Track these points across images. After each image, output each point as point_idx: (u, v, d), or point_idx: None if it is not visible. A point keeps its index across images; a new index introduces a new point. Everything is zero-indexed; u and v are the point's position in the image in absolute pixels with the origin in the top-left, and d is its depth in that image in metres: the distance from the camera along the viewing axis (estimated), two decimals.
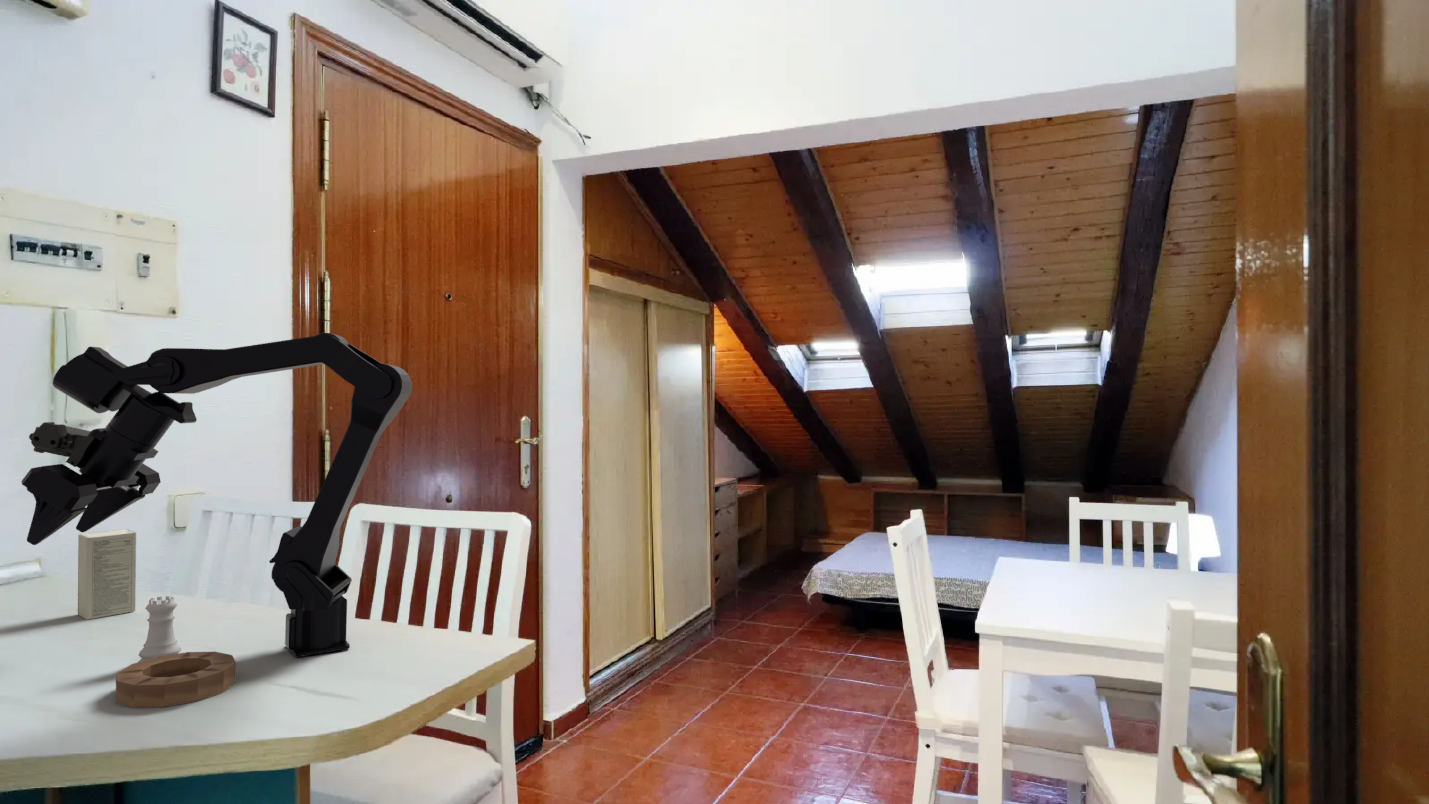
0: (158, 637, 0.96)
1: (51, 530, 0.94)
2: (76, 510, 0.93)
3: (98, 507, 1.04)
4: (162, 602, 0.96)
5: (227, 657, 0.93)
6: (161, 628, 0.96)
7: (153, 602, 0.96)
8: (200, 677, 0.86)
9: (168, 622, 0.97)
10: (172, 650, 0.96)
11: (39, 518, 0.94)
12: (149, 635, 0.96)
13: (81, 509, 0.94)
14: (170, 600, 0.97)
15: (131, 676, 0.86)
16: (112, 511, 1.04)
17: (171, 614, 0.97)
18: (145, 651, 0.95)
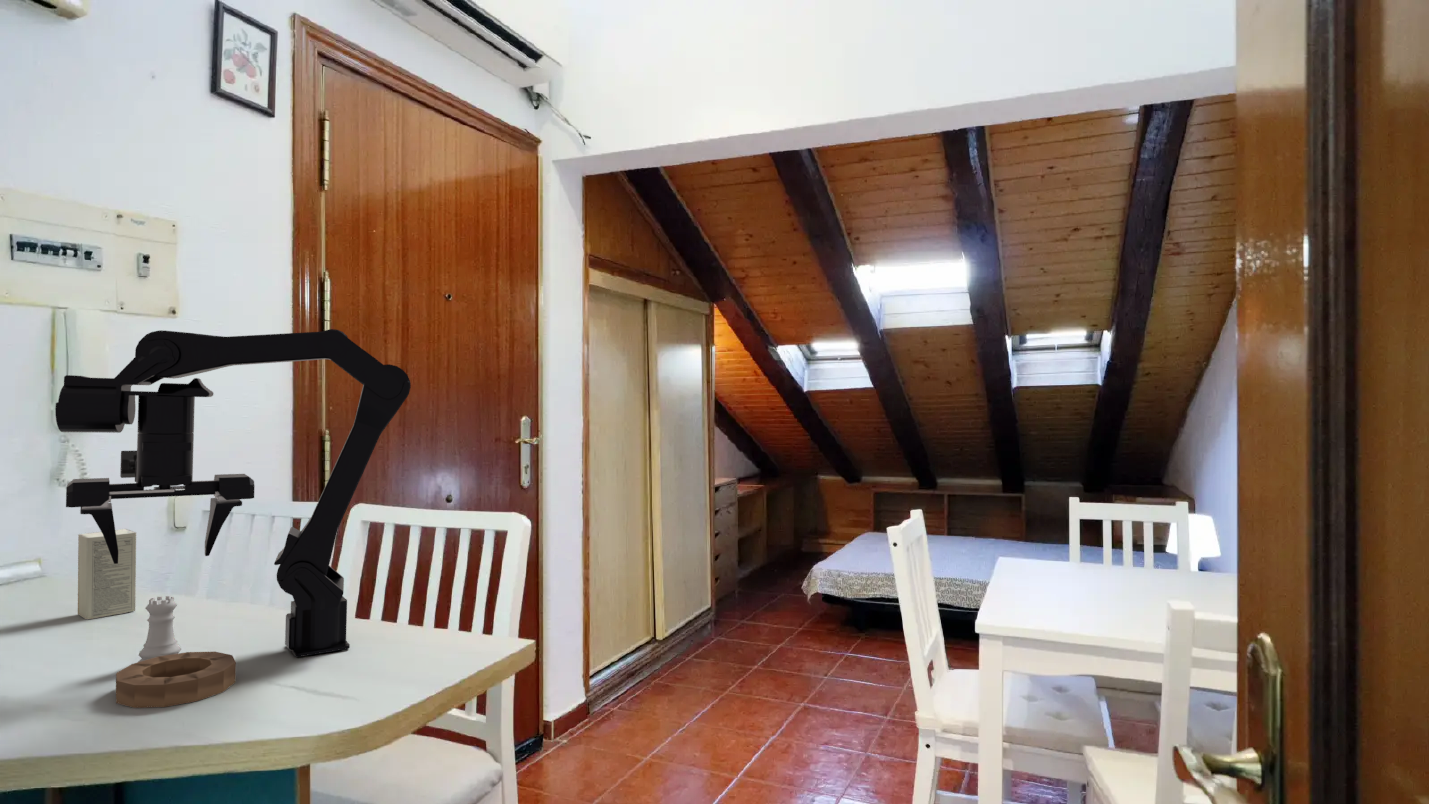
0: (158, 637, 0.96)
1: None
2: (90, 509, 0.90)
3: (208, 526, 1.00)
4: (162, 602, 0.96)
5: (227, 657, 0.93)
6: (161, 628, 0.96)
7: (153, 602, 0.96)
8: (200, 677, 0.86)
9: (168, 622, 0.97)
10: (172, 650, 0.96)
11: None
12: (149, 635, 0.96)
13: (101, 509, 0.91)
14: (170, 600, 0.97)
15: (131, 676, 0.86)
16: (210, 524, 0.98)
17: (171, 614, 0.97)
18: (145, 651, 0.95)
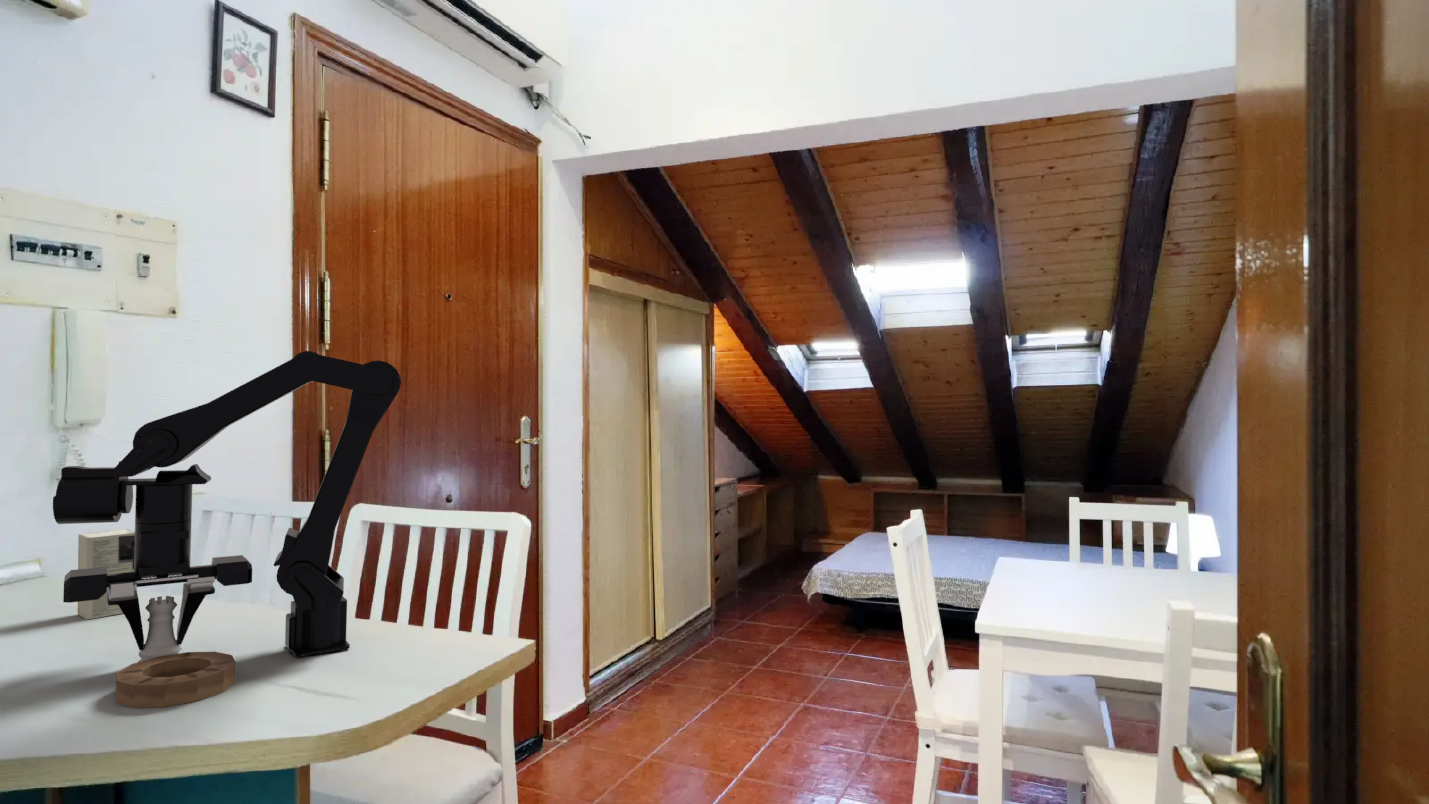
0: (158, 637, 0.96)
1: None
2: (117, 600, 0.92)
3: (180, 614, 0.98)
4: (162, 602, 0.96)
5: (227, 657, 0.93)
6: (161, 627, 0.96)
7: (153, 602, 0.96)
8: (200, 677, 0.86)
9: (168, 622, 0.97)
10: (172, 649, 0.96)
11: None
12: (149, 635, 0.96)
13: (128, 599, 0.93)
14: (170, 600, 0.97)
15: (131, 676, 0.86)
16: (182, 614, 0.97)
17: (171, 614, 0.97)
18: (145, 651, 0.95)
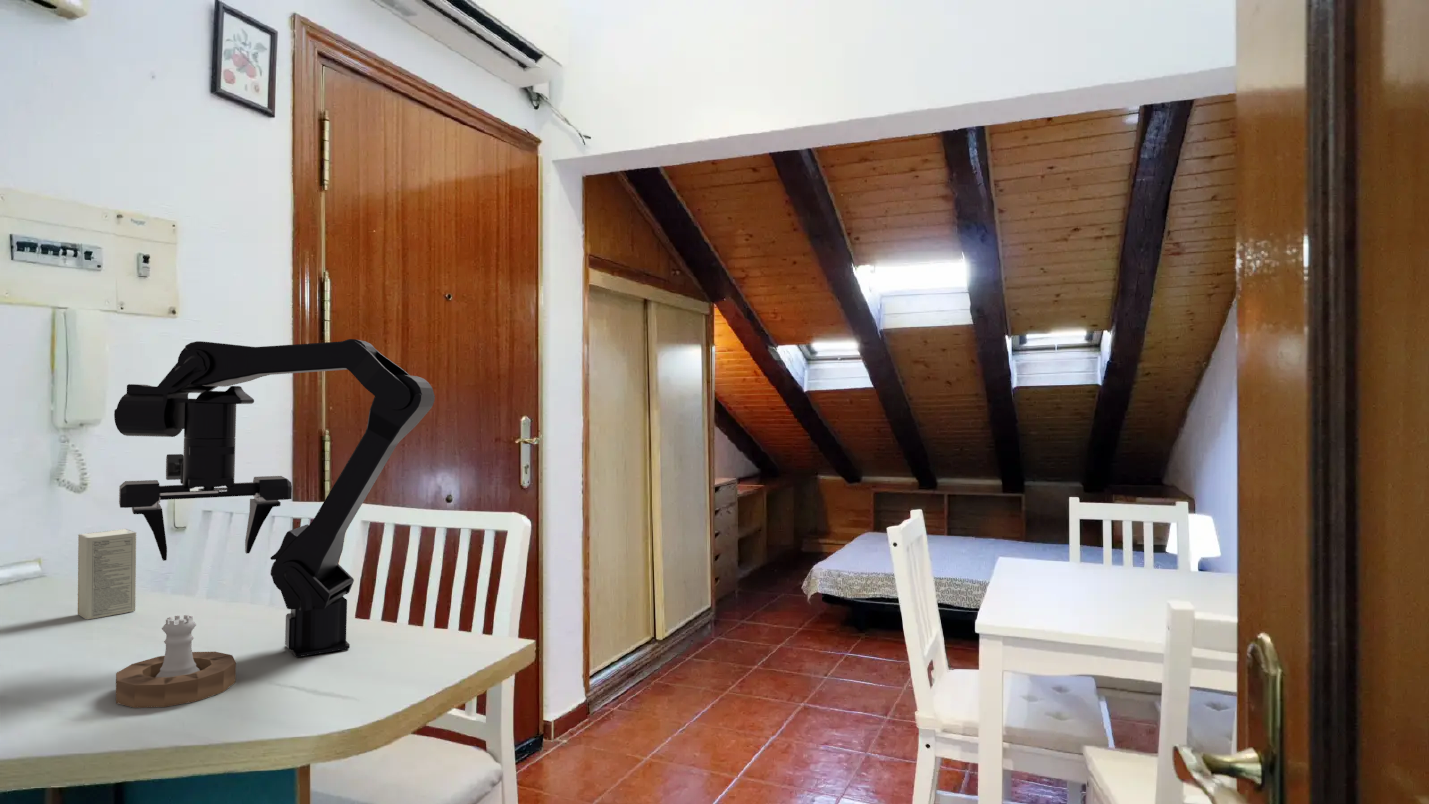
0: (176, 661, 0.88)
1: (155, 539, 0.99)
2: (142, 510, 0.96)
3: (249, 525, 1.06)
4: (180, 622, 0.88)
5: (227, 657, 0.93)
6: (179, 650, 0.88)
7: (170, 622, 0.88)
8: (200, 677, 0.86)
9: (186, 644, 0.89)
10: None
11: None
12: (166, 658, 0.88)
13: (152, 509, 0.97)
14: (188, 620, 0.89)
15: (131, 676, 0.86)
16: (251, 524, 1.05)
17: (190, 635, 0.89)
18: (162, 676, 0.87)
